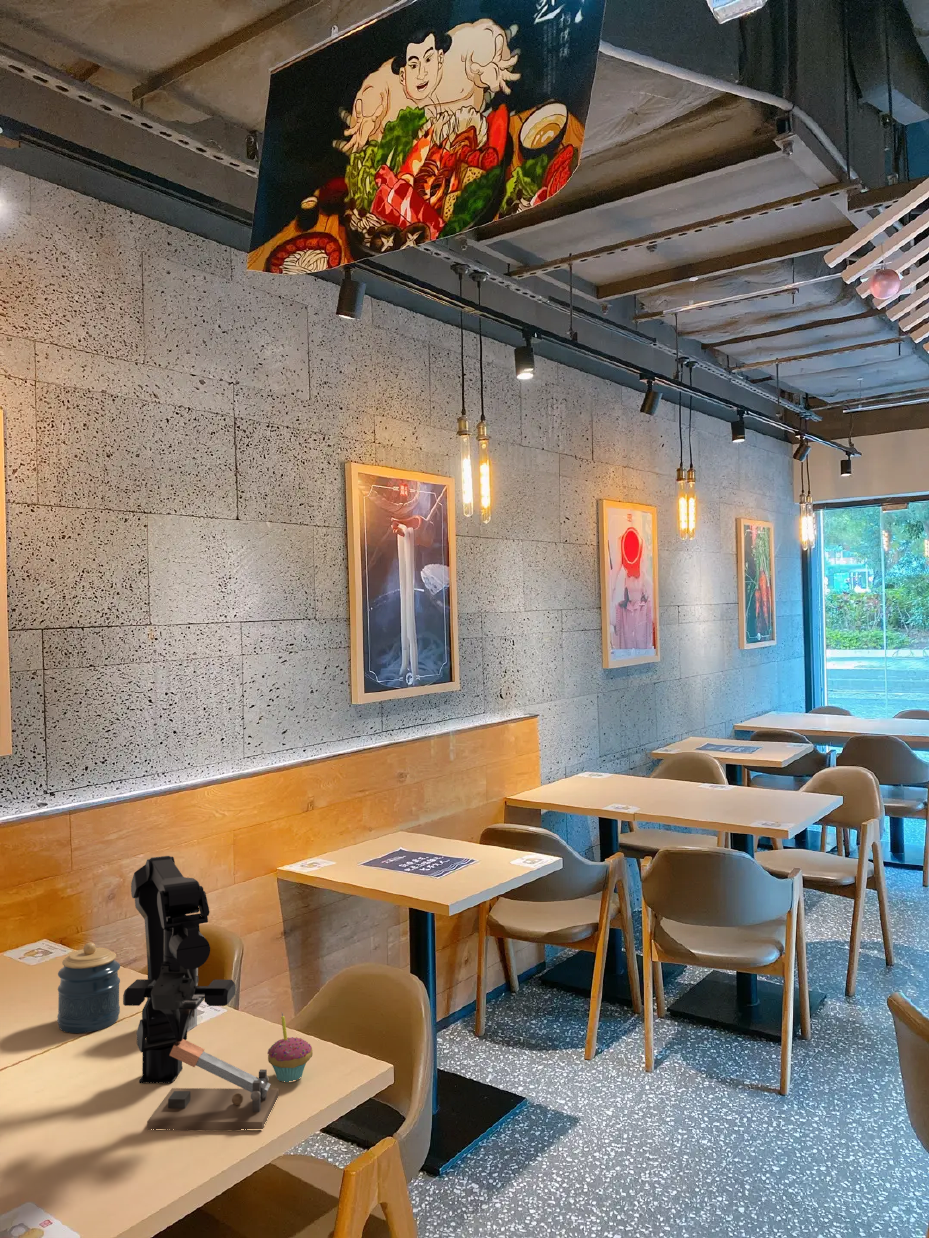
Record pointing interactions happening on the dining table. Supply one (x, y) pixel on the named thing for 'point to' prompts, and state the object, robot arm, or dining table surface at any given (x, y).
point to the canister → (88, 990)
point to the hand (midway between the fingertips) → (179, 1040)
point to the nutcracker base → (214, 1108)
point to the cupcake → (289, 1056)
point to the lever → (216, 1066)
